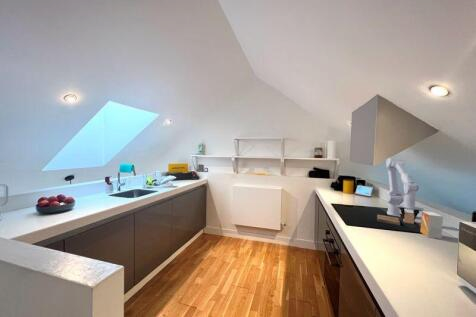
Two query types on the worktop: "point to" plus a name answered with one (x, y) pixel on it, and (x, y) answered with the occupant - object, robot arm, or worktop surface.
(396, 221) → the tan board
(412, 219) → the terracotta block
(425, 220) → the small box
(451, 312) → the worktop surface
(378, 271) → the worktop surface
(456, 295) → the worktop surface
